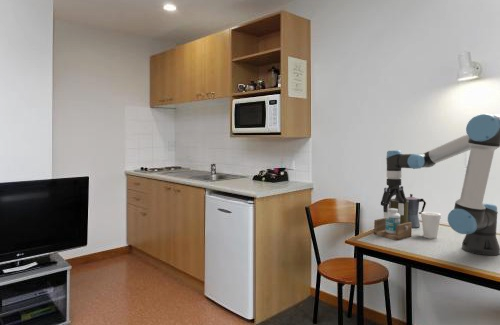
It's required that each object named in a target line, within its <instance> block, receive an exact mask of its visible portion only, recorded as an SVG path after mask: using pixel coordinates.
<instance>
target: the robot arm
mask: <svg viewBox="0 0 500 325" xmlns="http://www.w3.org/2000/svg"><path fill="white" fill-rule="evenodd" d="M465 130H466V134H465V135H461V136H460V137H458V138H456V139H453V140H451V141H448V142H446V143H444V144H441V145H440V146H437V147H435V148H433V149H431V150H427V151H425V152H423V153H405V154H404V153H402V150H398V149H397V150H388V151H386V158H385V160H386V185H387V186H388V187H384V188H383V194H382V198H381V201H380V205H381V207H383V208H382V209H383V218H389V202H390V200H391V199H393V197H394V196H395V197H397V199H398V201H399V202H400V203H398V213H399V214H400V215H404V204H406V196H405V192H404V186H403V185H402V179H401V178H402V169H413V170H415V169H422V168H431V167H434V166H436V164H438V163H441V162H443V161H445V160H448V159H450V158H453V157H455V156H458V155H461V154H464V153H466V152H468V151H470V152H469V155H468V161H467V166H466V171H465V174H464V179H463V183H462V189H461V193H460V198H459V199H457V200H455V202H454V208H453V209H452V210H450V211H449V213H447V214H448V215H447V222H448V225H449V227H450V228H451V229H452V230H453V231H454V232H456V233H457V234H460V235H465V236H464V238H463V240H462V243H461V248H462V249H463V251H467V252H469V253H473V254H476V255H482V256H483V255H484V256H497V255H500V244H499V241H498V238H497V226H498V214H499V213H498V207H497V205H495V204H493V203H492V204H491V203H484V199H485V194H486V189H487V184H488V181H489V175H490V171H491V166H492V162H493V158H494V154H495V151H496V150H497V149H499V148H500V114H495V113H482V114H481V113H480V114H478V115H475V116H473V117H472V118H471V119H469V121H468V122H467V123H466V128H465ZM403 199H404V200H403Z"/></svg>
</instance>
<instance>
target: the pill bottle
mask: <svg viewBox="0 0 500 325" xmlns="http://www.w3.org/2000/svg"><path fill="white" fill-rule="evenodd" d="M397 212H398V209H396V208H389V218H386V229H385V231H386V232H387V233H389V234H396V225H398V224H400V214H399V213H397Z"/></svg>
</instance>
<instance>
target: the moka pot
mask: <svg viewBox="0 0 500 325" xmlns="http://www.w3.org/2000/svg"><path fill="white" fill-rule="evenodd" d="M405 198H406V200H408V201H409V202H408V222H411V223H412V228H416V229H417V228H420V227H421V223H420V218H419V215H421V213H422V212H425V211H424V210H425V208H426V206H427V202H426V201H425V200H424V198H418V197H414V196H413V194H412V193H410V194H409V196H408V197H406V196H405ZM420 203H423V204H422V208H421V211H420V212H419V210H420V209H419V208H420Z"/></svg>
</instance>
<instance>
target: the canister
mask: <svg viewBox="0 0 500 325" xmlns="http://www.w3.org/2000/svg"><path fill="white" fill-rule="evenodd" d="M403 200H404V199H403ZM408 202H409V201H408V200H406V204H404V215H400V224H403V223H407V222H408ZM398 203H400V202H399V201H398V199H397V197H396V196H395V197H394V198H391V200H390V202H389V204H388V206H389V208H396V209H398ZM397 213H398V212H397Z"/></svg>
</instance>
